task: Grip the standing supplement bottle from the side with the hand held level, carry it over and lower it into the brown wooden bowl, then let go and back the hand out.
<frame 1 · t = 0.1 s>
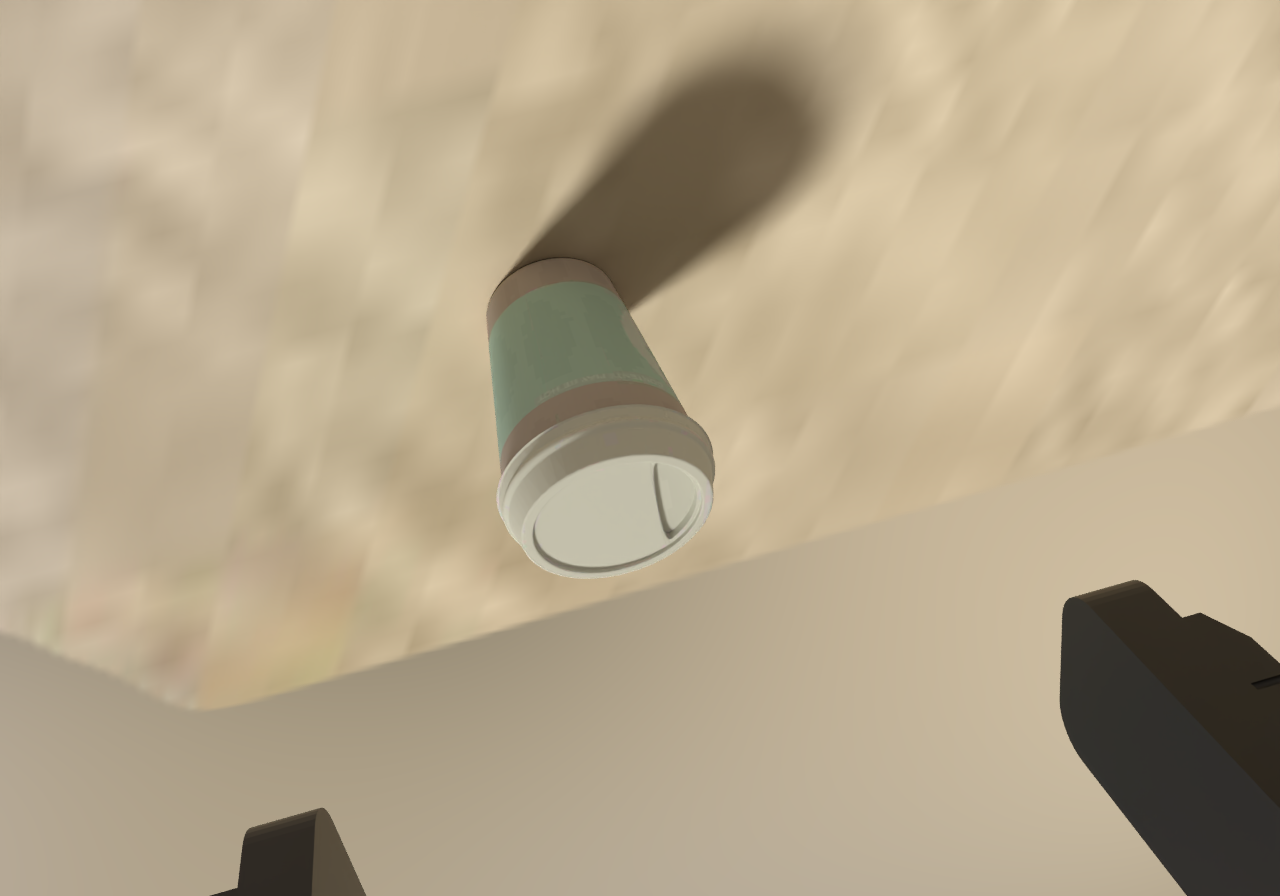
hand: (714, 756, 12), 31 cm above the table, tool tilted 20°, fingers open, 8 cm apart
coffee cup: (550, 305, 49), on the table
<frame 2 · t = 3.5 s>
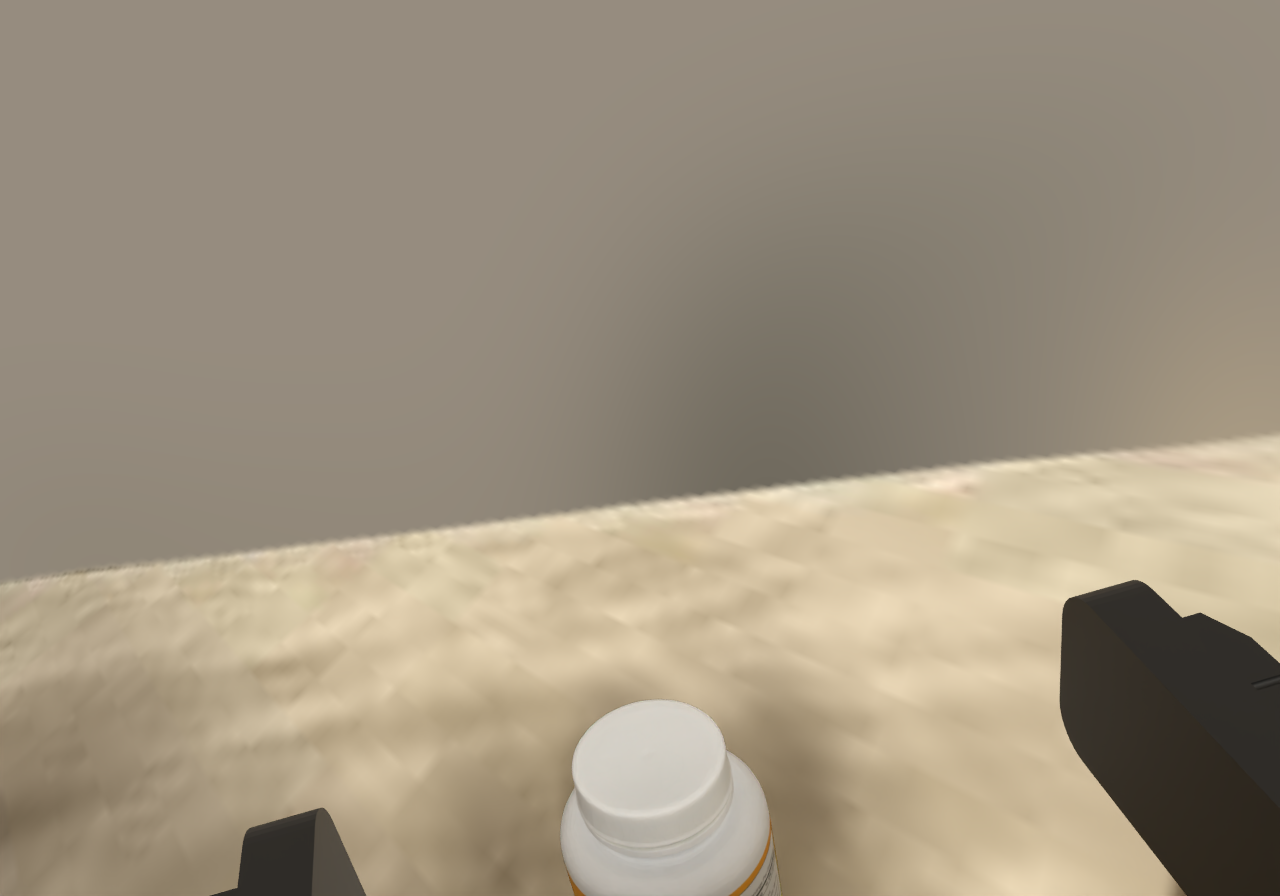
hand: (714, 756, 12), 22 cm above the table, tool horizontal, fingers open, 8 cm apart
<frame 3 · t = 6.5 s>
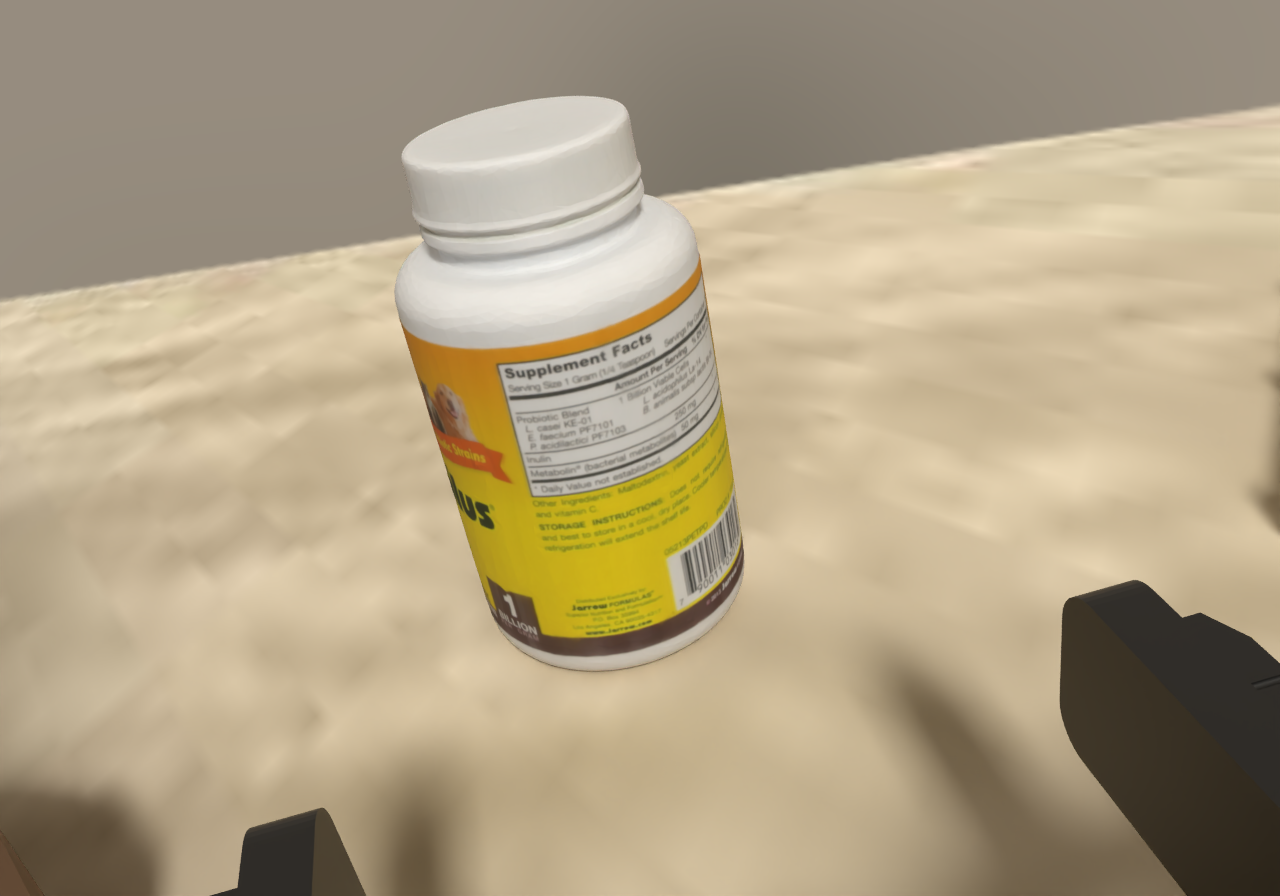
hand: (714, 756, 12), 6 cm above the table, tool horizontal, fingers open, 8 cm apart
supplement bottle: (622, 604, 24), on the table
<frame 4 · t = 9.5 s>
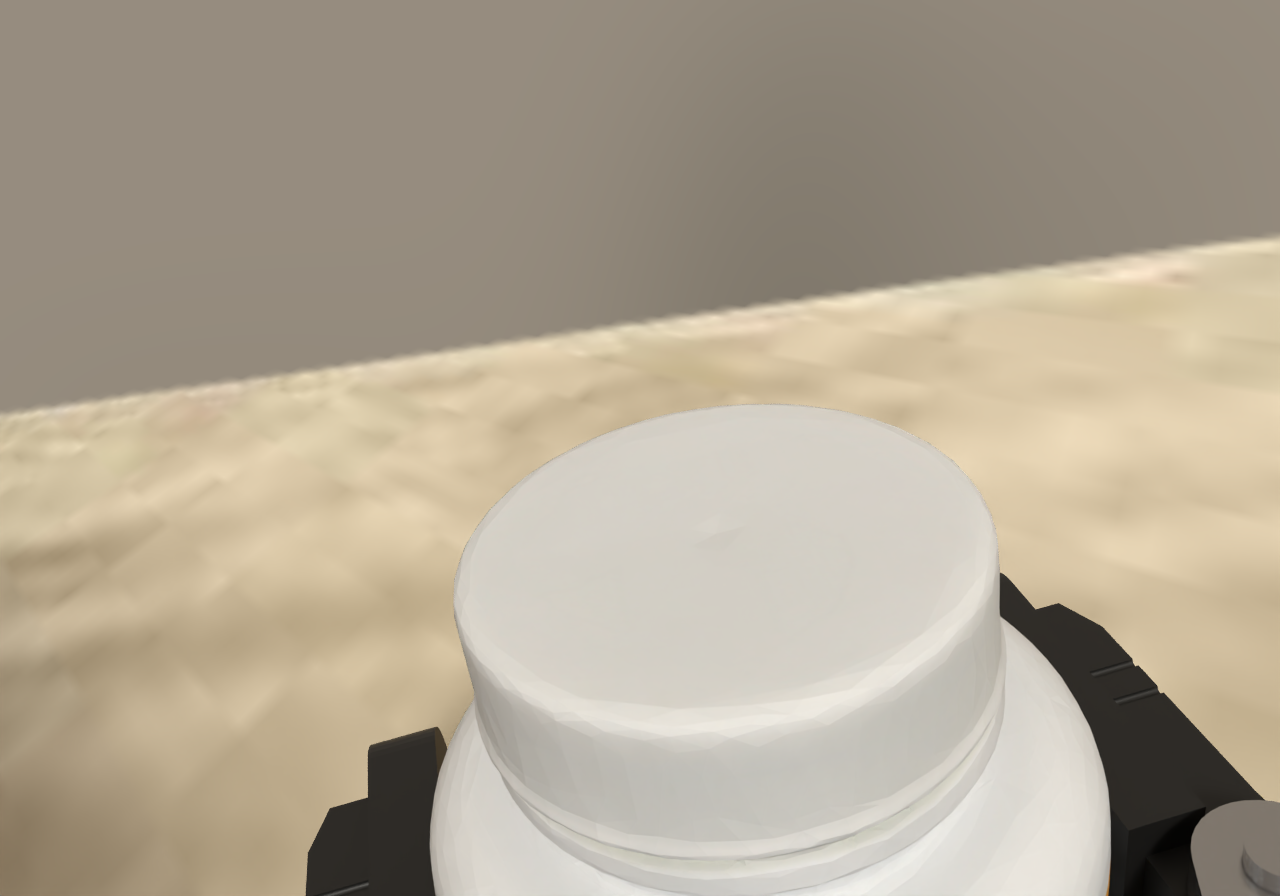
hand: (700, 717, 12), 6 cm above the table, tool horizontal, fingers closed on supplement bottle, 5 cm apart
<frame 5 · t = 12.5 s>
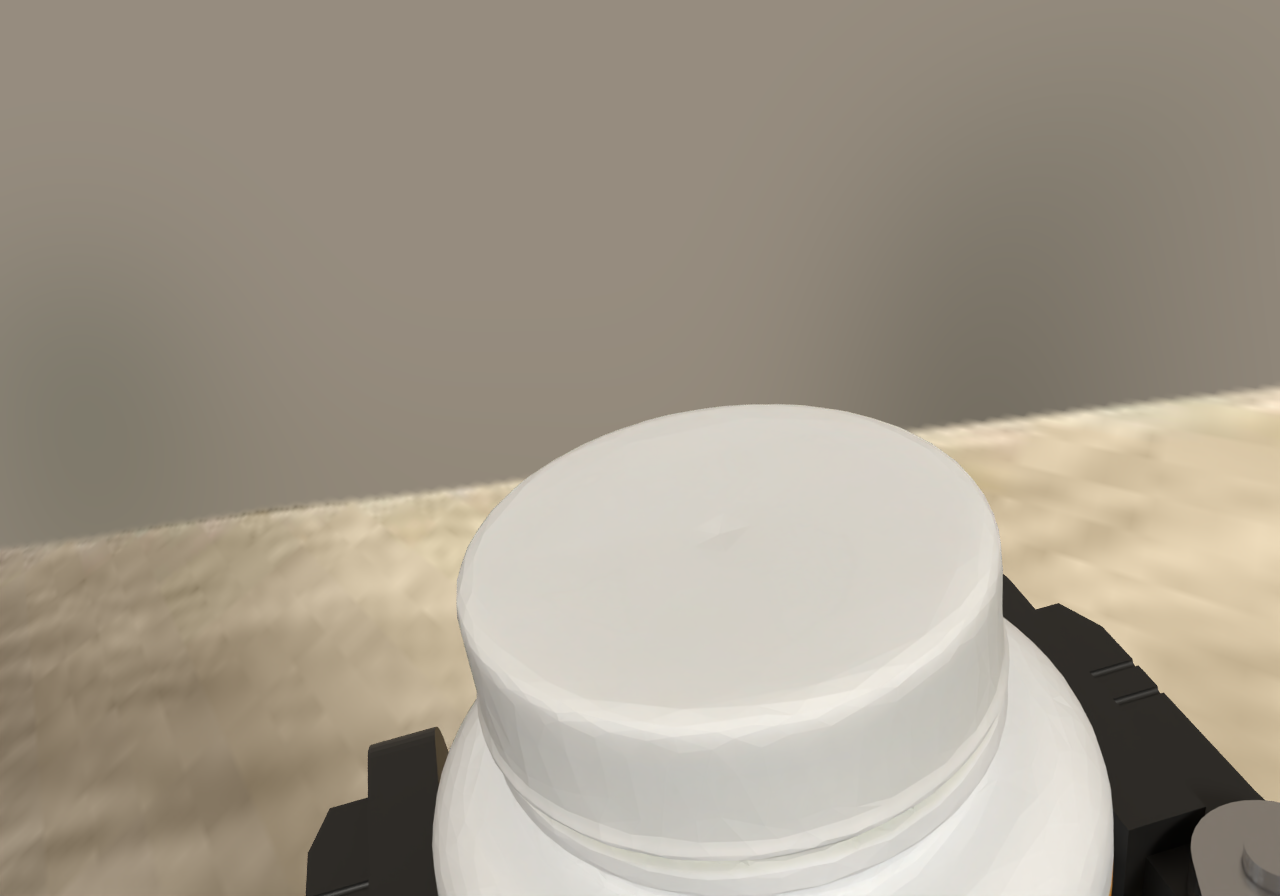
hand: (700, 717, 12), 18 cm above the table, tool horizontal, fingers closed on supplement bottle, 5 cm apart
when the fingers open (9 cm above the table, at t = 15.6 s): supplement bottle drops 2 cm, resting on brown wooden bowl.
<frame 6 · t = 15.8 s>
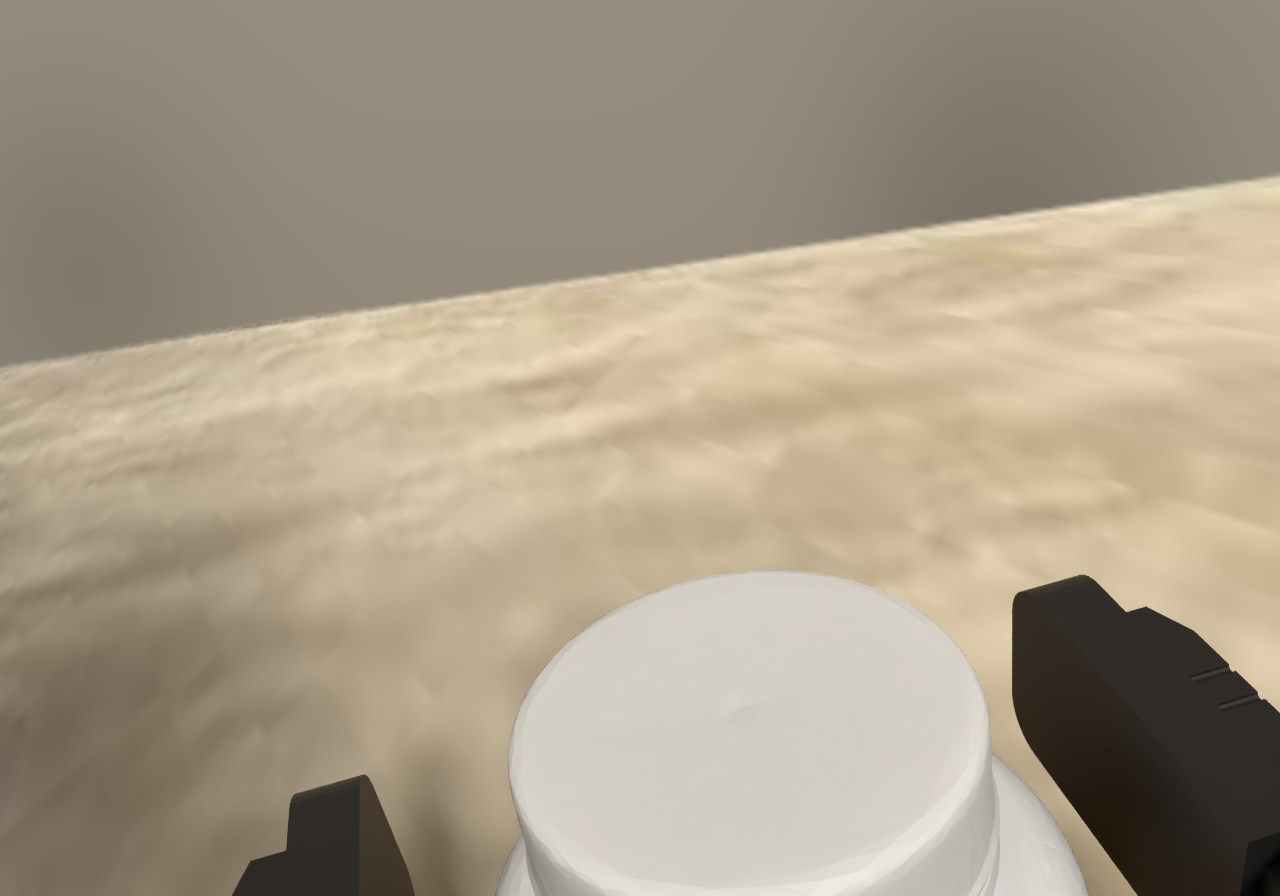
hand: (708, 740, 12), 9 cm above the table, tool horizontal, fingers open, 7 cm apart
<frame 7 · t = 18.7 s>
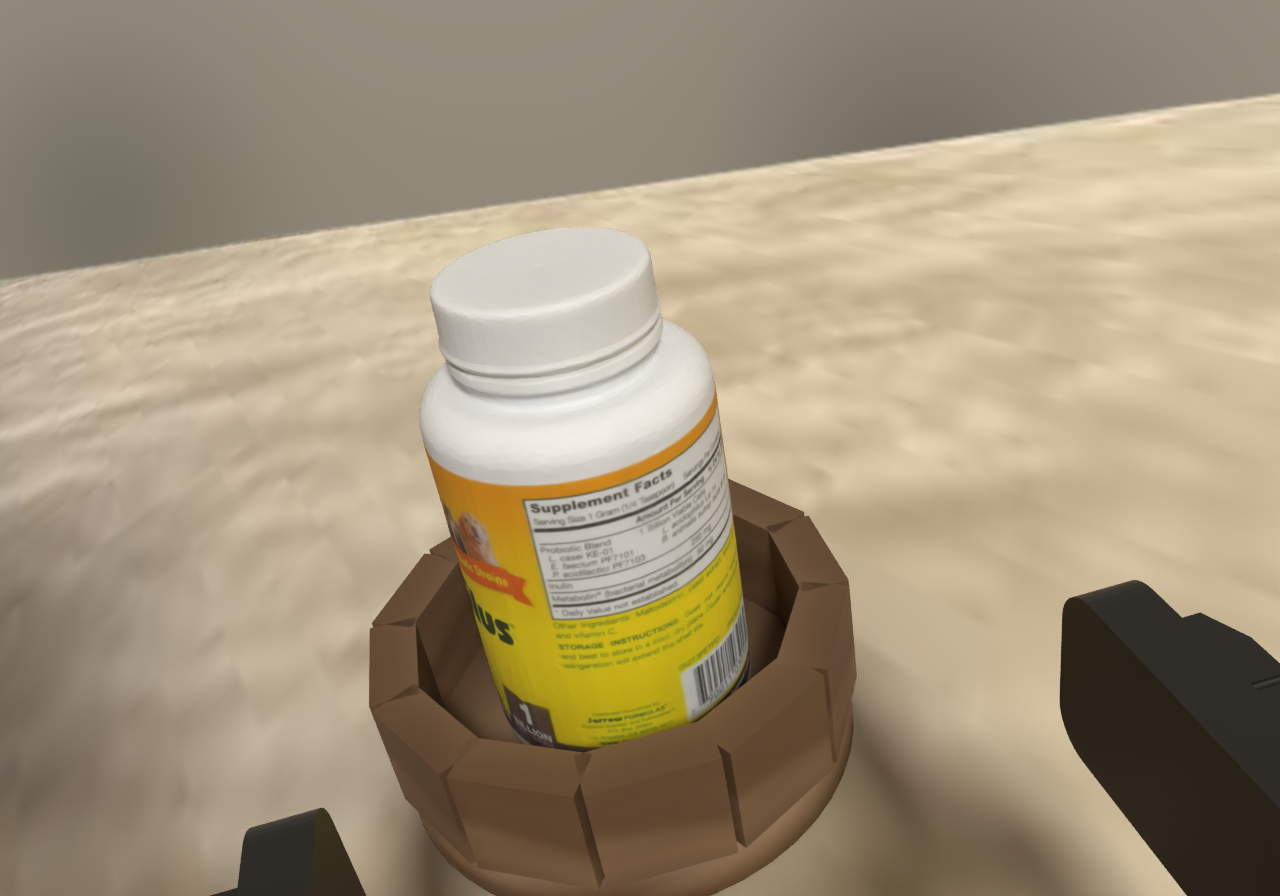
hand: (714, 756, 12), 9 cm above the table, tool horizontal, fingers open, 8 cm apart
brown wooden bowl: (630, 723, 25), on the table
supplement bottle: (630, 701, 25), point 1 cm above the table, touching brown wooden bowl
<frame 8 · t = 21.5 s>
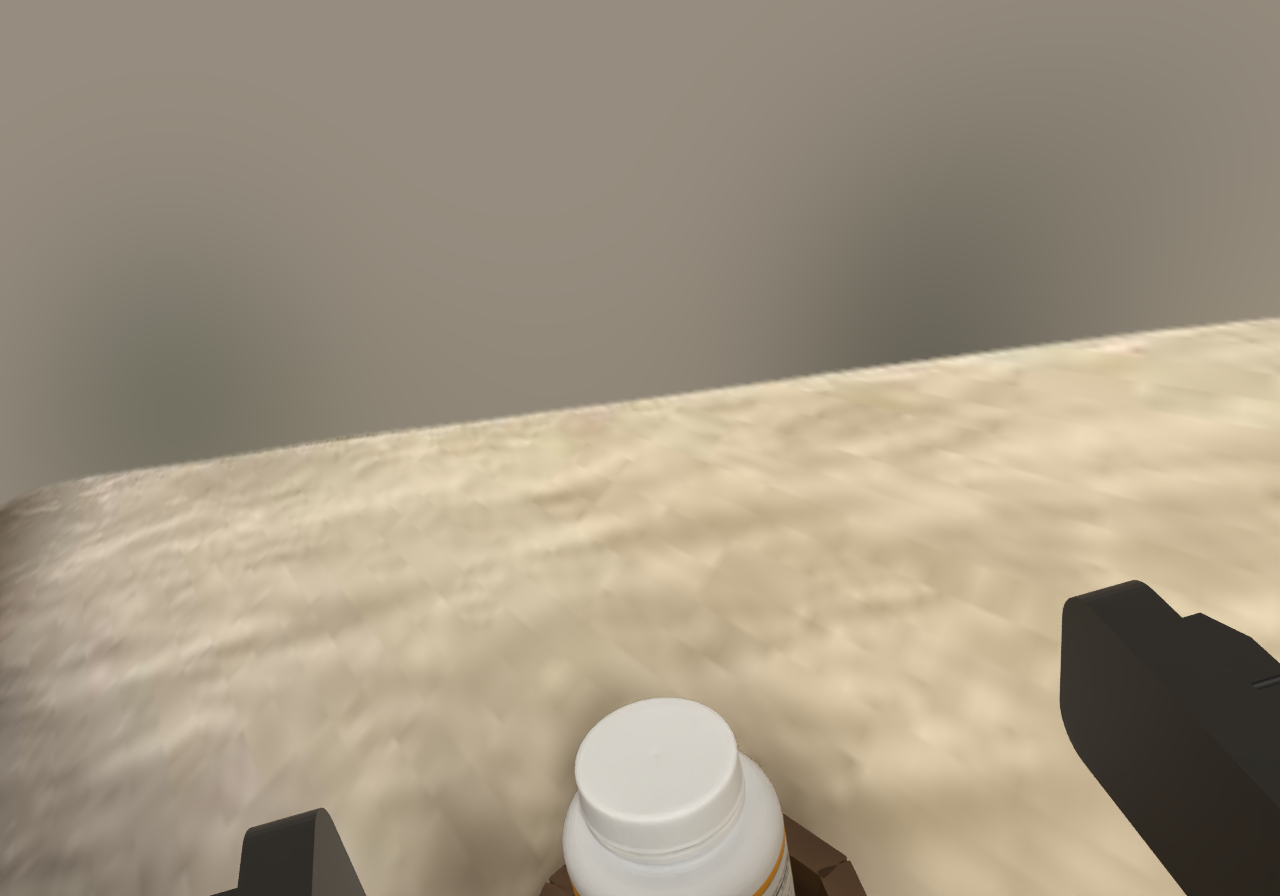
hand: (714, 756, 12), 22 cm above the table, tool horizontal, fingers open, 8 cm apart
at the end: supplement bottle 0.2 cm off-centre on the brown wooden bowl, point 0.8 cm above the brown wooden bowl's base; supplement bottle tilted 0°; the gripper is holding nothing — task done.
